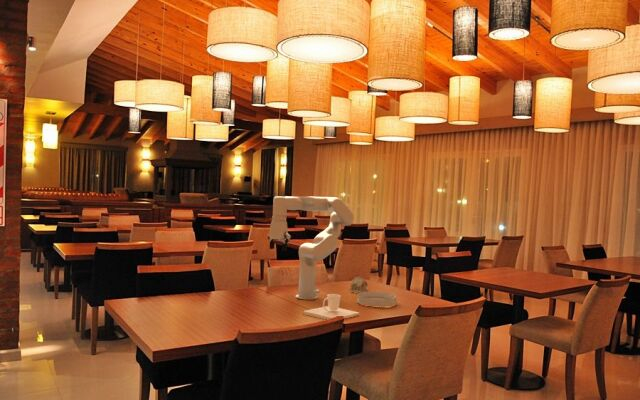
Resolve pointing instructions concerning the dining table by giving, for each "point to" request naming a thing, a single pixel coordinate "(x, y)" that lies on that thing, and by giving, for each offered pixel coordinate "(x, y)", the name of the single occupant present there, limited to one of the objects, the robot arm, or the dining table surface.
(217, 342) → the dining table surface
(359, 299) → the dish
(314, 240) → the robot arm
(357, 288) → the ceramic model
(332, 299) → the cup
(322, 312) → the board
